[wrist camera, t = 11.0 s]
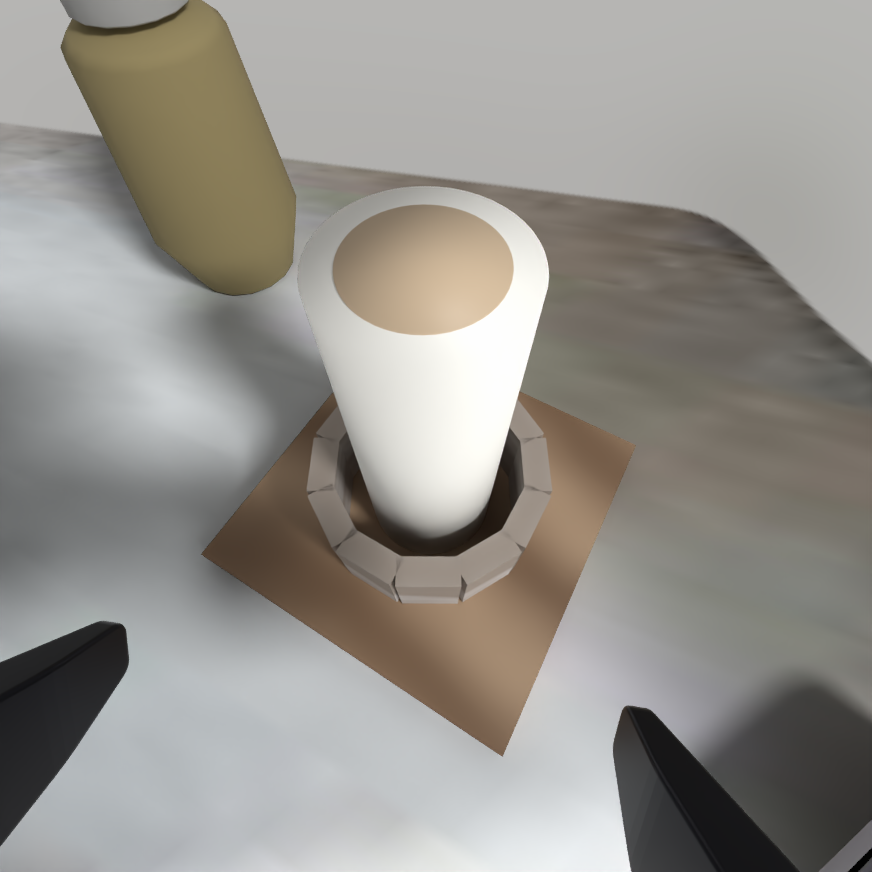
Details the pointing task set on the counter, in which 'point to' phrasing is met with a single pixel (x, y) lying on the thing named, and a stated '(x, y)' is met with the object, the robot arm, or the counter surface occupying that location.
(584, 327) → the counter surface
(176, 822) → the counter surface
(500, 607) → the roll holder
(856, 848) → the charger
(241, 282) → the squeeze bottle
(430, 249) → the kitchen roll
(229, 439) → the counter surface
